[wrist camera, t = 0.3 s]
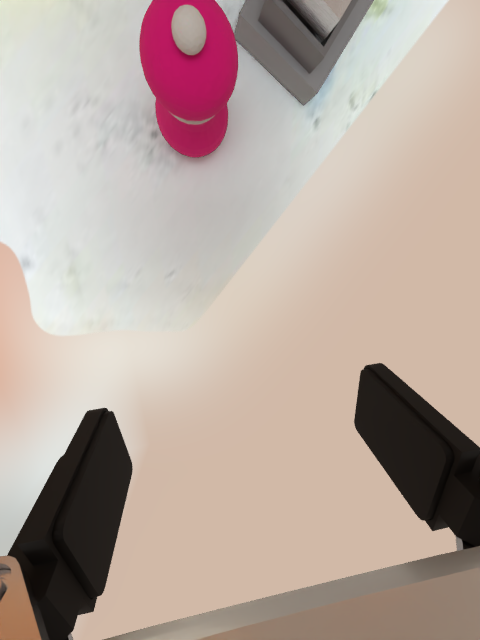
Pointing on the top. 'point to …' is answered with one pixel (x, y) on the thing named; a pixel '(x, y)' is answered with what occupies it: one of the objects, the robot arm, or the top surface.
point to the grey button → (321, 13)
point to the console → (295, 43)
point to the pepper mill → (189, 71)
